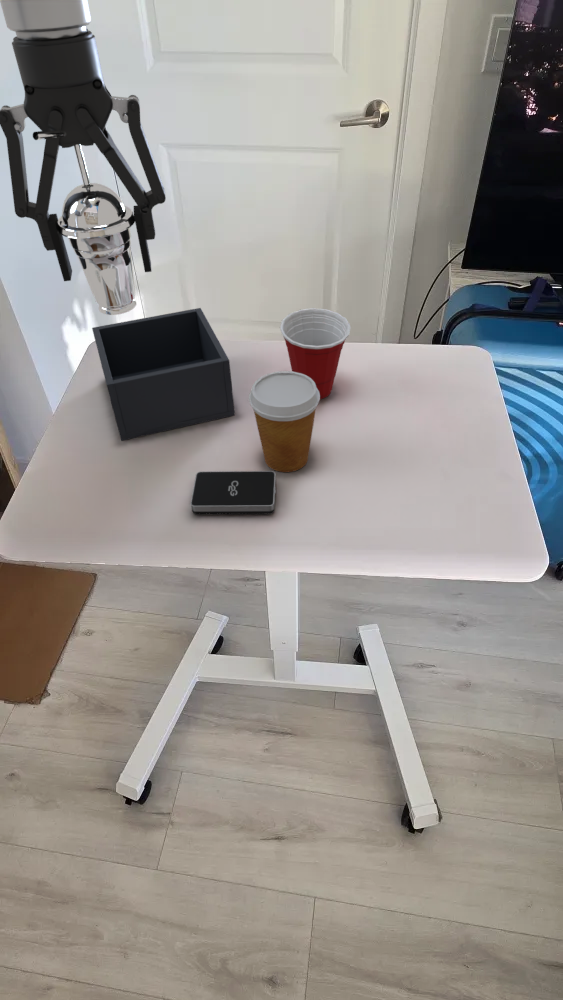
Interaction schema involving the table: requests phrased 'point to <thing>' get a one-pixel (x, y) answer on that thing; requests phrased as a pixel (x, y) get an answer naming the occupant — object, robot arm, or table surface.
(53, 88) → the robot arm
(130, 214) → the cup with straw
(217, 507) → the external hard drive
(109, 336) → the bin
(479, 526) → the table surface
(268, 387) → the disposable coffee cup
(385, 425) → the table surface
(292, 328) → the plastic cup
